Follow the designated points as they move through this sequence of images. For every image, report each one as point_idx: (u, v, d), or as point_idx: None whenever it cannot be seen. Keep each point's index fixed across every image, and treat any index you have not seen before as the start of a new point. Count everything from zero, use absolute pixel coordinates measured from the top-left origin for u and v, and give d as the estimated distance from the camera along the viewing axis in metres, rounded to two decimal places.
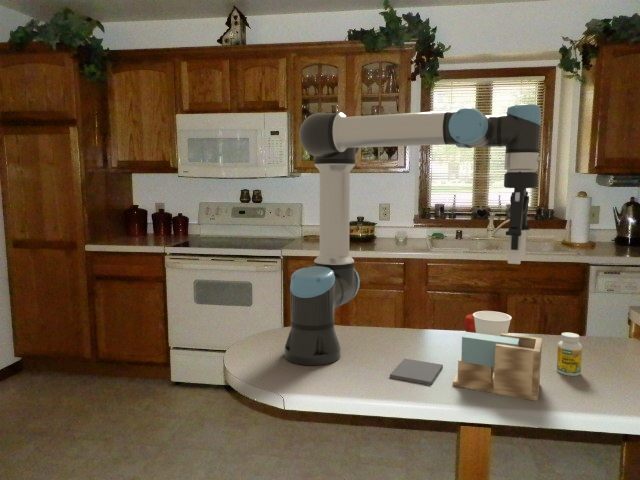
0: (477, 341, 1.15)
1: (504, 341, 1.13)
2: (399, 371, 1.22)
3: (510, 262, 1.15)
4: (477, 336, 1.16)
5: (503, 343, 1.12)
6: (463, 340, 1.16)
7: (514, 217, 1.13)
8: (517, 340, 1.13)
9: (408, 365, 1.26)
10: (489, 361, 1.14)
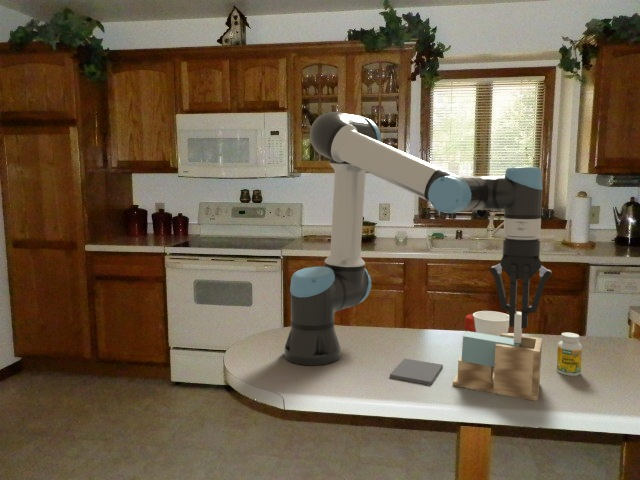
0: (477, 341, 1.14)
1: (505, 342, 1.13)
2: (399, 371, 1.22)
3: None
4: (478, 336, 1.16)
5: (504, 344, 1.12)
6: (464, 339, 1.16)
7: None
8: None
9: (408, 365, 1.26)
10: (489, 361, 1.14)
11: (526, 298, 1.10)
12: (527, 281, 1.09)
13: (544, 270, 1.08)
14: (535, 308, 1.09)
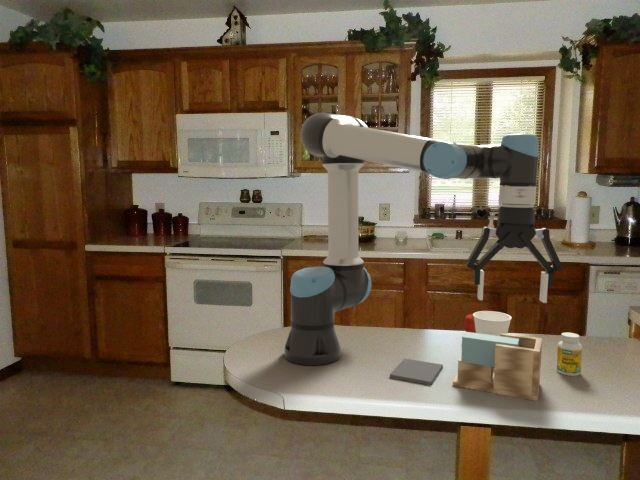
0: (477, 341, 1.15)
1: (504, 341, 1.13)
2: (399, 371, 1.22)
3: (477, 296, 1.14)
4: (477, 336, 1.16)
5: (503, 343, 1.12)
6: (463, 340, 1.16)
7: (473, 251, 1.12)
8: (517, 340, 1.13)
9: (408, 365, 1.26)
10: (489, 361, 1.14)
11: (543, 259, 1.09)
12: (533, 245, 1.09)
13: (540, 231, 1.09)
14: (560, 265, 1.09)
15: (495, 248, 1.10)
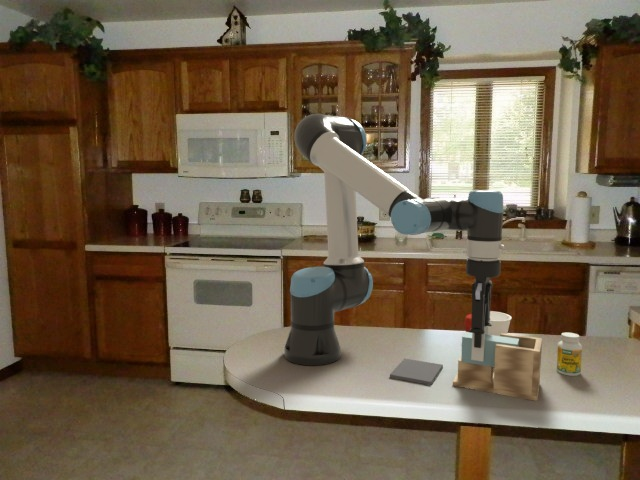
0: None
1: (504, 341, 1.13)
2: (399, 371, 1.22)
3: (474, 359, 1.15)
4: None
5: (503, 343, 1.12)
6: (463, 340, 1.16)
7: (476, 317, 1.10)
8: (517, 340, 1.13)
9: (408, 365, 1.26)
10: (489, 361, 1.14)
11: (488, 311, 1.18)
12: (490, 296, 1.16)
13: None
14: (489, 316, 1.20)
15: (485, 305, 1.13)
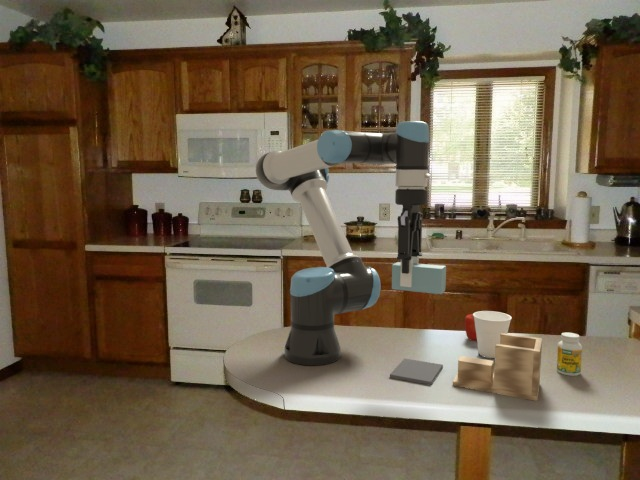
0: None
1: (430, 267, 1.17)
2: (399, 371, 1.22)
3: (402, 285, 1.19)
4: None
5: (429, 268, 1.17)
6: (393, 268, 1.21)
7: (402, 242, 1.15)
8: (443, 266, 1.18)
9: (408, 365, 1.26)
10: (417, 287, 1.18)
11: (418, 241, 1.23)
12: (420, 226, 1.21)
13: None
14: None
15: (412, 233, 1.17)
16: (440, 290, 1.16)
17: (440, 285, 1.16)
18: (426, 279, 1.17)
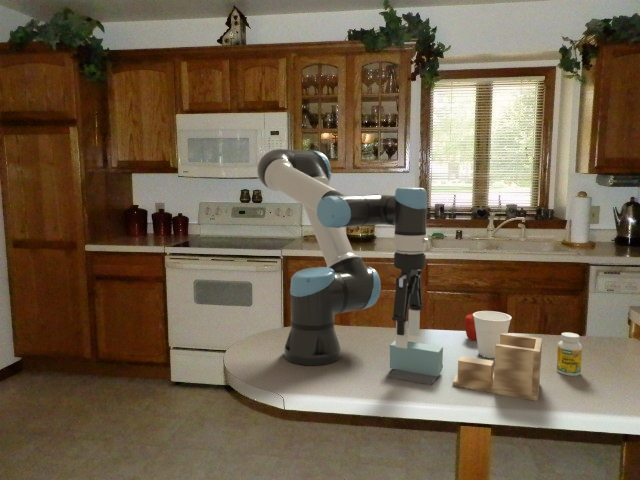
0: (403, 349, 1.22)
1: (427, 349, 1.20)
2: (399, 371, 1.22)
3: (397, 346, 1.19)
4: None
5: (426, 351, 1.19)
6: (391, 348, 1.23)
7: (398, 304, 1.15)
8: (440, 348, 1.21)
9: None
10: (414, 368, 1.21)
11: (418, 297, 1.26)
12: (419, 285, 1.24)
13: None
14: None
15: (409, 295, 1.18)
16: (437, 372, 1.19)
17: (437, 368, 1.18)
18: (423, 360, 1.20)
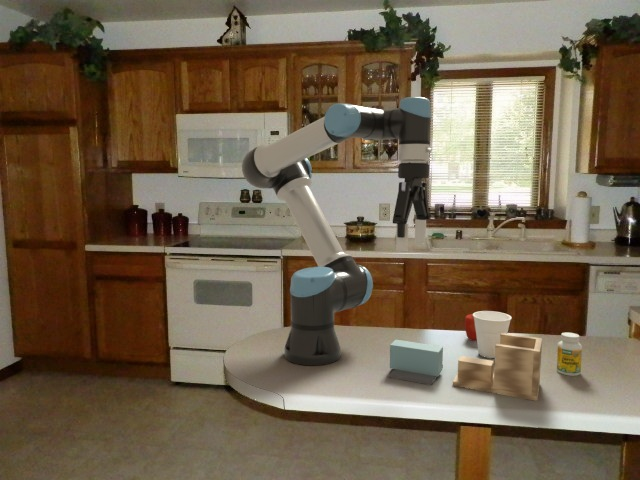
0: (403, 349, 1.22)
1: (427, 349, 1.20)
2: (399, 371, 1.22)
3: (398, 249, 1.20)
4: (404, 344, 1.23)
5: (426, 351, 1.19)
6: (391, 348, 1.23)
7: (399, 206, 1.17)
8: (440, 348, 1.21)
9: None
10: (414, 368, 1.21)
11: (424, 207, 1.29)
12: (423, 196, 1.26)
13: None
14: (428, 212, 1.33)
15: (411, 201, 1.20)
16: (437, 372, 1.19)
17: (437, 368, 1.18)
18: (423, 360, 1.20)
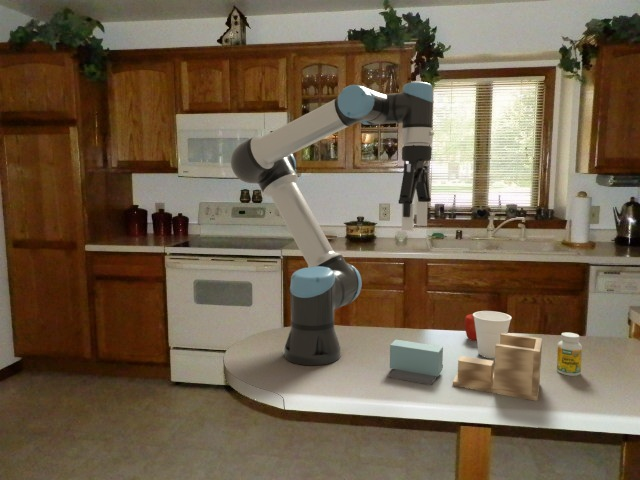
0: (403, 349, 1.22)
1: (427, 349, 1.20)
2: (399, 371, 1.22)
3: (404, 229, 1.25)
4: (404, 344, 1.23)
5: (426, 351, 1.19)
6: (391, 348, 1.23)
7: (405, 186, 1.22)
8: (440, 348, 1.21)
9: None
10: (414, 368, 1.21)
11: (426, 190, 1.34)
12: (425, 178, 1.31)
13: (423, 167, 1.33)
14: (429, 194, 1.38)
15: (415, 182, 1.25)
16: (437, 372, 1.19)
17: (437, 368, 1.18)
18: (423, 360, 1.20)
